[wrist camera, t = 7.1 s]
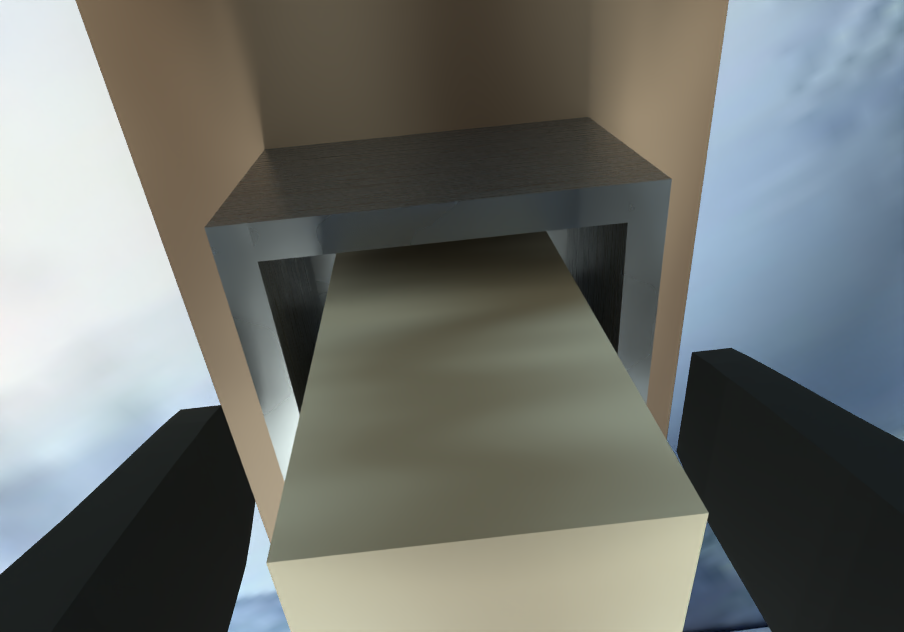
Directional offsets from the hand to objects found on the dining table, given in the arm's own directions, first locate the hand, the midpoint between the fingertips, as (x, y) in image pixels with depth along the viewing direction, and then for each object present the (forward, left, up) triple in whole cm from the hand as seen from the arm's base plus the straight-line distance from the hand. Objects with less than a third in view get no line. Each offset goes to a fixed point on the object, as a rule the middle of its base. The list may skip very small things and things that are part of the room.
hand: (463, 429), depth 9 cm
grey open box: (0, 0, -5) cm, 5 cm away
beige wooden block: (0, 0, -4) cm, 5 cm away
